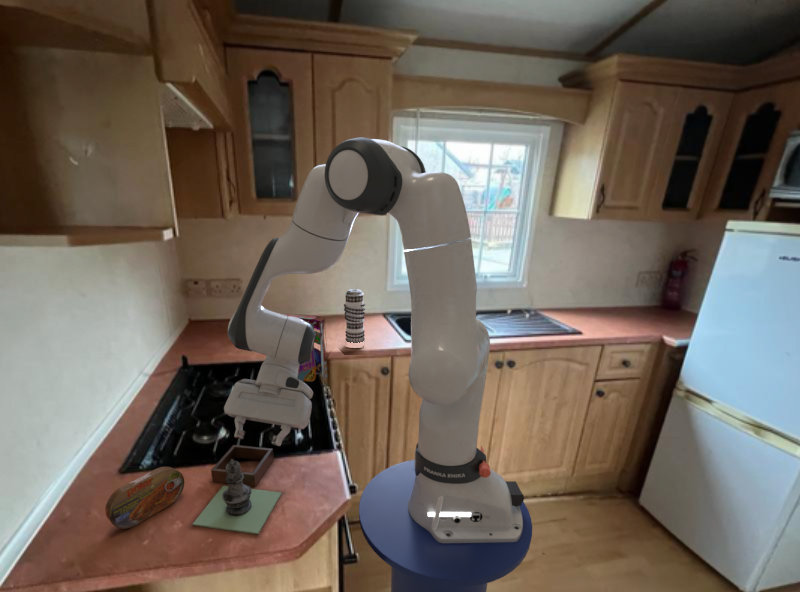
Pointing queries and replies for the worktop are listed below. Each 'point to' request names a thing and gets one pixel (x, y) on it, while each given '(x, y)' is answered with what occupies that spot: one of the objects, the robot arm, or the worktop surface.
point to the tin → (144, 497)
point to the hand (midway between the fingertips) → (256, 441)
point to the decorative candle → (354, 316)
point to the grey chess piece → (236, 491)
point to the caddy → (247, 453)
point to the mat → (244, 523)
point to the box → (313, 352)
